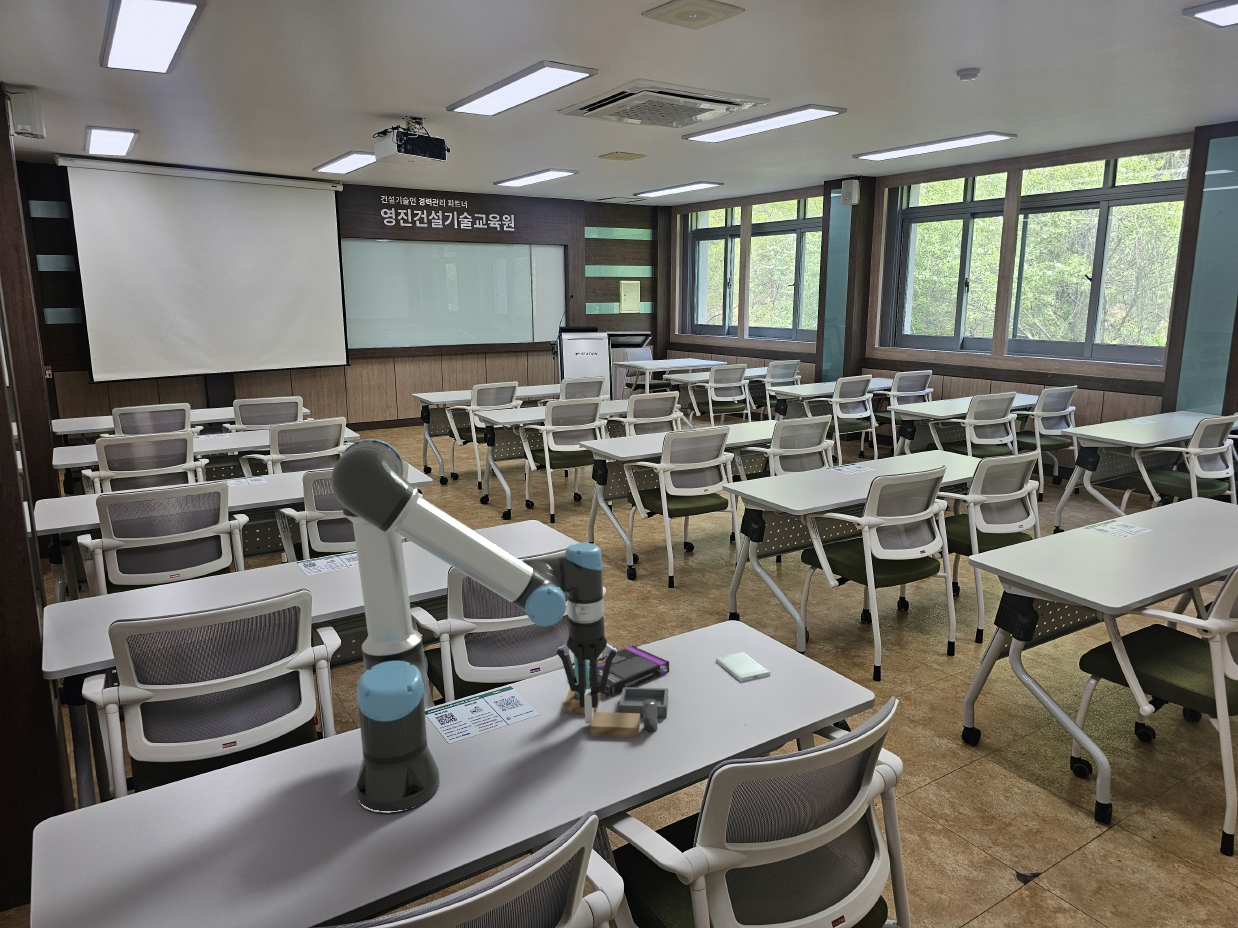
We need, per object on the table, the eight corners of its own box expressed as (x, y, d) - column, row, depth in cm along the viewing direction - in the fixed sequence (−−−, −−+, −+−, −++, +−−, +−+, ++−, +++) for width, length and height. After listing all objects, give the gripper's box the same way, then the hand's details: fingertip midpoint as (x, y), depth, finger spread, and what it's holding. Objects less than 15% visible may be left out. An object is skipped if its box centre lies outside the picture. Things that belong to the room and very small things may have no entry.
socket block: (565, 712, 175) (564, 702, 175) (570, 697, 182) (570, 687, 182) (596, 713, 175) (595, 703, 174) (600, 698, 181) (599, 688, 181)
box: (633, 657, 205) (573, 679, 192) (633, 644, 204) (572, 665, 192) (670, 674, 194) (608, 698, 182) (670, 661, 193) (608, 684, 181)
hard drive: (715, 657, 199) (740, 677, 188) (744, 651, 202) (770, 671, 190) (716, 663, 199) (740, 683, 188) (744, 657, 202) (770, 677, 191)
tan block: (590, 736, 166) (590, 726, 165) (594, 722, 172) (594, 711, 171) (637, 738, 165) (637, 727, 164) (640, 723, 171) (640, 713, 170)
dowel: (574, 708, 177) (572, 642, 174) (577, 701, 180) (574, 636, 177) (588, 709, 177) (586, 642, 174) (590, 702, 180) (588, 636, 177)
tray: (619, 715, 173) (619, 705, 173) (623, 697, 182) (623, 687, 181) (666, 717, 172) (666, 706, 172) (668, 698, 180) (668, 688, 180)
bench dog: (642, 731, 167) (642, 705, 165) (644, 724, 170) (643, 698, 168) (657, 732, 166) (656, 706, 165) (657, 724, 169) (657, 699, 168)
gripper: (552, 623, 162) (556, 728, 166) (614, 624, 160) (617, 730, 165) (558, 609, 169) (562, 710, 173) (618, 610, 168) (621, 712, 172)
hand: (589, 720), depth 169 cm, fingers closed
